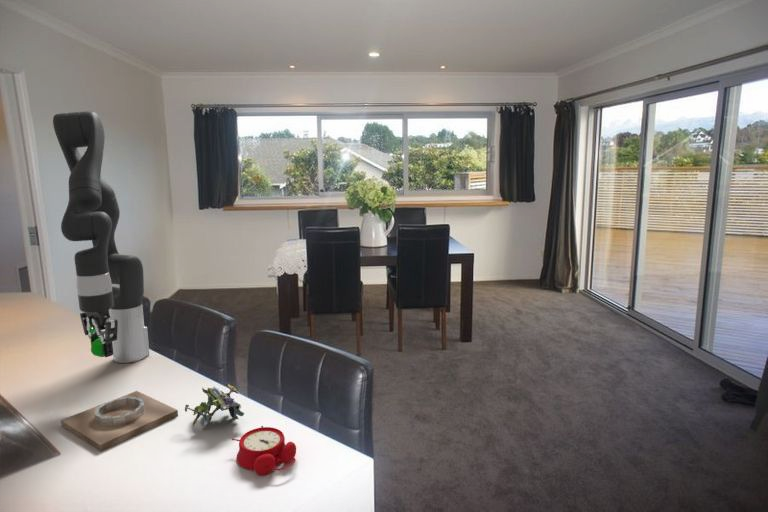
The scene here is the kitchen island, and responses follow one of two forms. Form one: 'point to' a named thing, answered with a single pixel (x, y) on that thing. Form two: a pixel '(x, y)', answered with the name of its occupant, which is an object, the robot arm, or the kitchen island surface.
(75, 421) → the walnut board
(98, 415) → the steel ring
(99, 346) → the polyhedron
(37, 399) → the kitchen island surface
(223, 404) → the grey green plastic figure
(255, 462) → the alarm clock
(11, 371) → the kitchen island surface
